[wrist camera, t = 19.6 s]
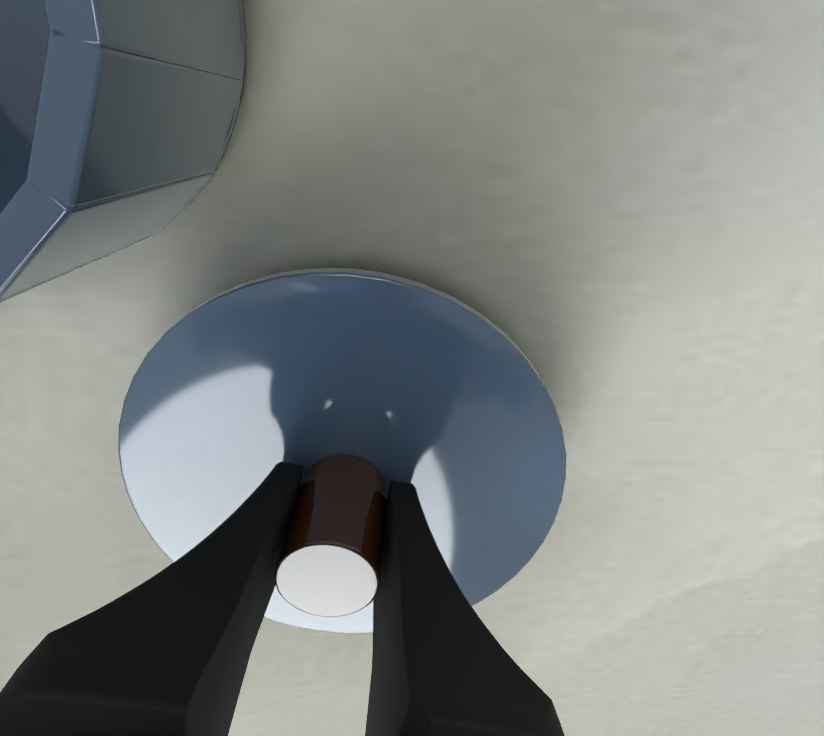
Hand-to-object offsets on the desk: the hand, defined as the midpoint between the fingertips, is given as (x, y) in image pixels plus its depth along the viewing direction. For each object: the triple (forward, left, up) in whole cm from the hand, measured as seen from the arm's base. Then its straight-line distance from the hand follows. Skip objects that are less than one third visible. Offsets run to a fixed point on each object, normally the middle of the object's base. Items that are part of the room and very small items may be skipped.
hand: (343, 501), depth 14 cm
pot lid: (0, 0, -1) cm, 1 cm away
